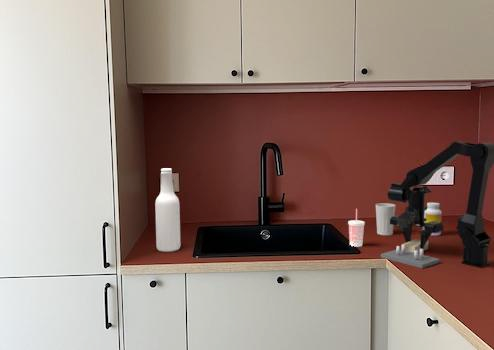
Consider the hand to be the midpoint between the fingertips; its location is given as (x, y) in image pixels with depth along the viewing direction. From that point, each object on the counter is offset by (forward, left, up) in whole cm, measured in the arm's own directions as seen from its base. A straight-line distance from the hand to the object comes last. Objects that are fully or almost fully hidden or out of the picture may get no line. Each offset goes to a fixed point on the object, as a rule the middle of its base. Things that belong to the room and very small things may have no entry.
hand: (414, 246), depth 177 cm
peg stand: (-6, +12, -1) cm, 13 cm away
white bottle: (+58, +69, -1) cm, 90 cm away
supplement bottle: (+10, -27, -2) cm, 29 cm away
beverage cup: (+18, +11, -1) cm, 21 cm away
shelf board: (0, 0, -2) cm, 2 cm away
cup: (+23, -13, -1) cm, 26 cm away
